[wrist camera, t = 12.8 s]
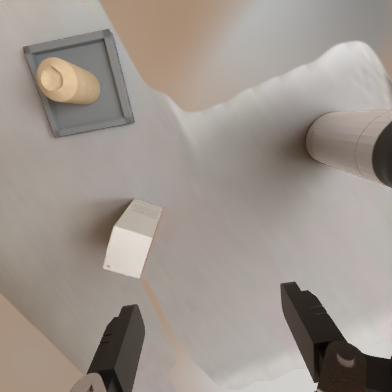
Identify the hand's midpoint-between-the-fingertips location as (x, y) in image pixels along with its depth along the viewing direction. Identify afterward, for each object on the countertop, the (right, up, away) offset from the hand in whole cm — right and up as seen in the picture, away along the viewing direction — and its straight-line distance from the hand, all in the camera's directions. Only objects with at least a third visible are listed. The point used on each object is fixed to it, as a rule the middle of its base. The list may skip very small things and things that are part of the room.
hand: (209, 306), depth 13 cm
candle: (-20, +25, +27) cm, 42 cm away
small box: (-11, +1, +36) cm, 38 cm away
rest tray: (-20, +25, +28) cm, 42 cm away
